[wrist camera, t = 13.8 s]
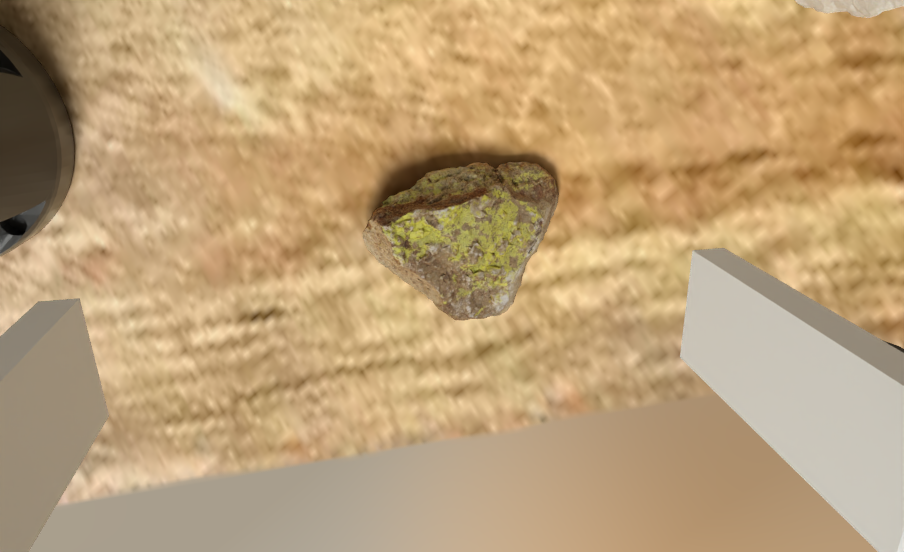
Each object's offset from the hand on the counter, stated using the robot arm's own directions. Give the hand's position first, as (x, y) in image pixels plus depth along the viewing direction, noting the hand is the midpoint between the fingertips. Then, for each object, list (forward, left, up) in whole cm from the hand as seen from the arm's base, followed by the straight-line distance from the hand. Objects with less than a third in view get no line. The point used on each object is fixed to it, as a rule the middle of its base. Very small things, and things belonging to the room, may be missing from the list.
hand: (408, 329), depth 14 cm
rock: (+6, -7, -29) cm, 30 cm away
